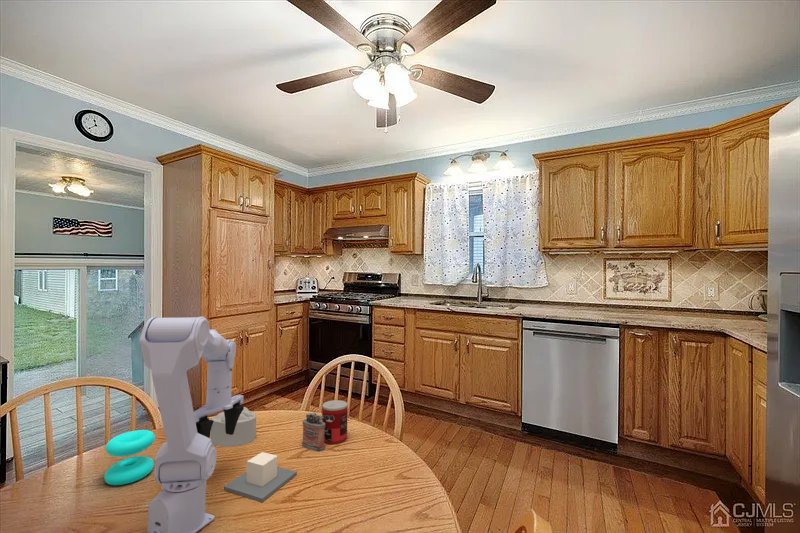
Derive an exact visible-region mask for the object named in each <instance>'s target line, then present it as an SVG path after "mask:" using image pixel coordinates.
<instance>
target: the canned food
mask: <svg viewBox="0 0 800 533" xmlns="http://www.w3.org/2000/svg"><path fill="white" fill-rule="evenodd" d="M348 411H349V410H348V402H346V401H345V400H338V399H334V400H333V399H332V400H329V401H325V402H323V403H322V406H321V415H322V416H323V420H322V422H324V423H325V434H324V444H327V445H337V444H338V443H339V444H341V442H342V443H343V442H345V441H346V440H347V436H348Z"/></svg>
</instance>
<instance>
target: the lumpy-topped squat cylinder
mask: <svg viewBox="0 0 800 533" xmlns="http://www.w3.org/2000/svg"><path fill="white" fill-rule="evenodd" d="M210 420H213V421H214V422H213V424H212V427H211V432H210V439H211V442H212V445H213V446H219V447H227V448H231V447H233V448H234V447H240V446H244V445H248V444H251V443H252V442H255V440H256V438H257V437H256V436H257V435H256V434H257V432H256V431H257V429H256V428H257V414H256V413H255V412H253V411H252V410H249V409H248V408H247V407H245V406H244V409H243V411H242V412H241V414H240V416H239V418H238V421H237V424H236V427H235V431H234V434H233V435H229V434H226V431H225V415H224V411H222V412H221V411H220V412H218V414H217V415H214V416H212V417H211V419H210Z"/></svg>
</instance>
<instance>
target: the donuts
mask: <svg viewBox="0 0 800 533" xmlns="http://www.w3.org/2000/svg"><path fill="white" fill-rule="evenodd" d="M155 439H156V435H155V433H154V432H153V431H152V430H148V429H138V430H132V431H127V432H124V433H120V434H118V435H116V436H114V437H113V438H111V439H110V440H109V441H108V442H107V443H106V445H105V452H106V454H108V455H109V456H112V457H117V458H118V457H119V458H120V457H122V458H123V457H126V458H123V459H122V460H119V461H117V462H115V463H113V464H112V465H111V466H110V467H109V468H107V470H106V471H105V473H104V477H103V478H104V482H105V483H107V484H108V485H110V486H123V485H128V484H132V483H135V482H136V481H139V480H142V479H143V478H145V477H146V476H147V475H149V474H150V473H151V472H152V471H153V469H154V468H155V461H154V460H153V458H151V457H150V456H147V455H137V454H139V453H141V452H144V451H145V450H147V449H149V447H150V446H152V445H153V443H154V442H155ZM132 455H134V456H132ZM128 456H130V457H128Z"/></svg>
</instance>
